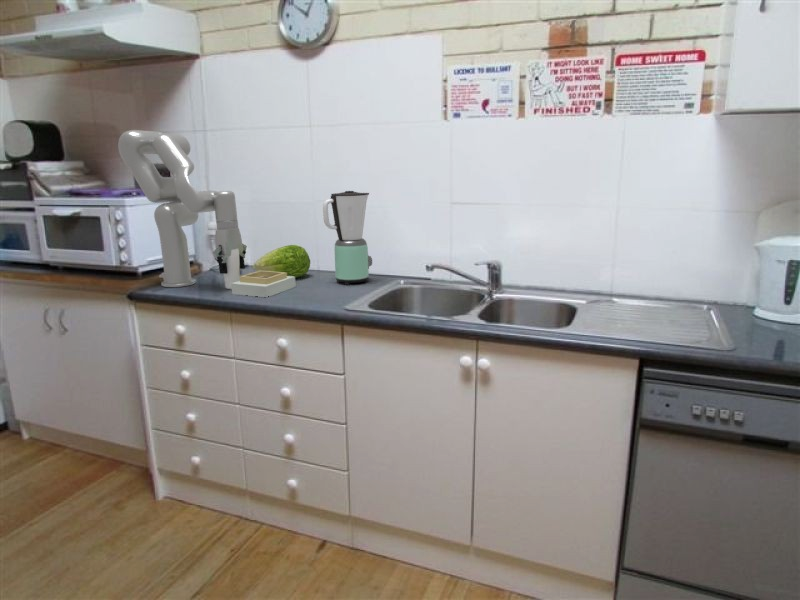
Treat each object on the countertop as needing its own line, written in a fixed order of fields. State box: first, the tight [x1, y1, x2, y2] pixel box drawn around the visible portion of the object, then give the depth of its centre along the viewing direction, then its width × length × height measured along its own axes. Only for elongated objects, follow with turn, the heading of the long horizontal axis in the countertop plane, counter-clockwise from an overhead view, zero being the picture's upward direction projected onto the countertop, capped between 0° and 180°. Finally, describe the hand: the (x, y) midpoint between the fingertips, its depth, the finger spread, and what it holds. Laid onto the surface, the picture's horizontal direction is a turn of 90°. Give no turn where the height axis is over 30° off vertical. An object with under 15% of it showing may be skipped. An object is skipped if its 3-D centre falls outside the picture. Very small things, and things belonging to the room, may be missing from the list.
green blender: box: [322, 190, 373, 286], centre depth 206 cm, size 19×13×35 cm
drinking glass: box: [222, 249, 241, 290], centre depth 201 cm, size 7×7×15 cm
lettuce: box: [252, 244, 311, 279], centre depth 220 cm, size 15×24×14 cm, turn 72°
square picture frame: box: [231, 271, 297, 298], centre depth 198 cm, size 15×19×6 cm
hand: (232, 270), depth 201 cm, fingers open, 9 cm apart
